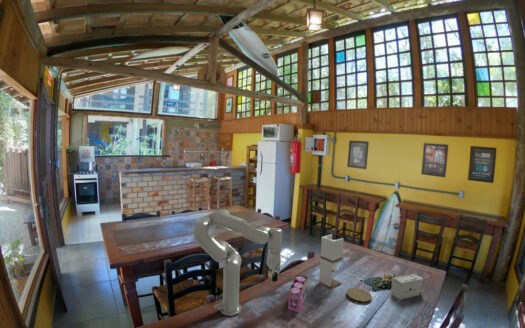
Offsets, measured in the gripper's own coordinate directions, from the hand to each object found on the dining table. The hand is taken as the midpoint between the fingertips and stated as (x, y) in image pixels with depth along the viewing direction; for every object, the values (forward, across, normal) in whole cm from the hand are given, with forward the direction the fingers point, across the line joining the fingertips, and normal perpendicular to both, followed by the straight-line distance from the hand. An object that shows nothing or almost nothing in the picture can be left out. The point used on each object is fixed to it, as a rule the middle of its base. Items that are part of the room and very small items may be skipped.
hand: (272, 278), depth 161 cm
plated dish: (+20, -2, +94) cm, 96 cm away
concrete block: (+19, +16, +95) cm, 98 cm away
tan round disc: (+20, +6, +62) cm, 65 cm away
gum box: (+20, -3, +20) cm, 28 cm away
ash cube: (0, 0, 0) cm, 0 cm away
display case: (+19, -14, +54) cm, 59 cm away
